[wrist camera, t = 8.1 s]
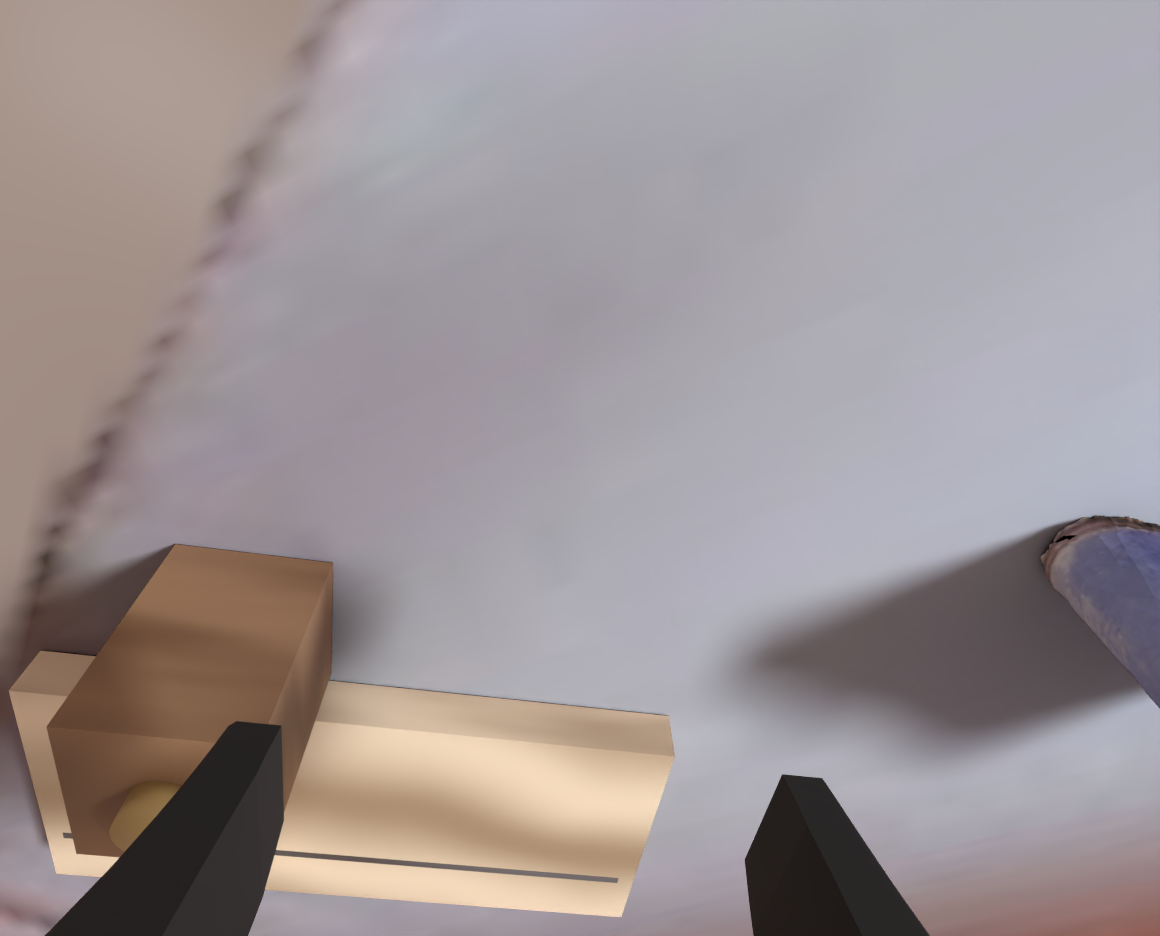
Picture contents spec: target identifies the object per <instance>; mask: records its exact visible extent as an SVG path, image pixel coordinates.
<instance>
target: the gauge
mask: <svg viewBox="0 0 1160 936" xmlns="http://www.w3.org/2000/svg"><path fill="white" fill-rule="evenodd" d="M332 604H333V563H329V562H321V561H313V560H304V559H296V558H287V557H279V556H270V555H262V554H254V553H245V552H237V551H228V550H220V549H212V548H203V547H195V546H186V545H178V544H175V545H174V547H173V548H172V550H171V551H170V552H169V554H168V555H167V557H166V558H165V559H164V561H163V562H162V564H161V565H160V567H159V568H158V569H157V571H156V572H155V574H154V575H153V576H152V578H151V579H150V581H149V582H148V584H147V585H146V586H145V588H144V589H143V591H142V592H141V593H140V595H139V596H138V598H137V599H136V601H135V602H134V603H133V605H132V606H131V608H130V609H129V610H128V612H127V613H126V615H125V616H124V618H123V619H122V620H121V622H120V623H119V625H118V626H117V627H116V629H115V630H114V632H113V633H112V635H111V636H110V637H109V639H108V640H107V642H106V643H105V644H104V646H103V647H102V649H101V650H100V652H99V653H98V654H97V656H96V657H95V659H94V660H93V661H92V663H91V664H90V666H89V667H88V669H87V670H86V671H85V673H84V674H83V676H82V677H81V678H80V680H79V681H78V683H77V684H76V686H75V687H74V688H73V690H72V691H71V693H70V694H69V695H68V697H67V698H66V700H65V701H64V703H63V704H62V705H61V707H60V708H59V710H58V711H57V712H56V714H55V715H54V717H53V718H52V719H51V721H50V722H49V724H48V725H47V727H46V728H47V732H48V736H49V740H50V744H51V749H52V753H53V757H54V761H55V766H56V770H57V774H58V778H59V782H60V787H61V791H62V795H63V799H64V804H65V808H66V812H67V816H68V820H69V825H70V829H71V833H72V837H73V842H74V846H75V850H76V854H83V855H96V856H108V857H120V856H121V855H122V854H123V853H124V852H125V851H126V850H127V849H128V847H129V846H130V845H131V844H132V843H133V842H134V841H135V840H136V838H137V837H138V836H139V835H140V834H141V833H142V832H143V830H144V829H145V828H146V827H147V826H148V825H149V824H150V823H151V821H152V820H153V819H154V818H155V817H156V816H157V815H158V814H159V812H160V811H161V810H162V809H163V808H164V806H165V805H166V804H167V803H168V802H169V800H170V799H171V798H172V797H173V796H174V794H175V793H176V792H177V791H178V790H179V788H180V787H181V786H182V785H183V784H184V782H185V781H186V780H187V779H188V777H189V776H190V775H191V774H192V773H193V771H194V770H195V769H196V768H197V766H198V765H199V764H200V762H201V761H202V760H203V759H204V757H205V756H206V755H207V753H208V752H209V751H210V750H211V748H212V747H213V746H214V744H215V743H216V742H217V740H218V739H219V738H220V736H221V735H222V734H223V732H224V731H225V730H226V728H227V727H228V726H229V725H231V724H232V723H234V722H236V721H241V722H251V723H261V724H272V725H282V763H283V801H284V811H285V808H286V805H287V802H288V799H289V796H290V794H291V791H292V788H293V785H294V782H295V779H296V776H297V773H298V770H299V767H300V764H301V761H302V758H303V755H304V752H305V749H306V746H307V743H308V741H309V738H310V735H311V732H312V729H313V726H314V723H315V720H316V717H317V714H318V711H319V708H320V705H321V702H322V699H323V696H324V693H325V690H326V687H327V685H328V682H329V679H330V676H331V662H332Z"/></svg>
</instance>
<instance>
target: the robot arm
mask: <svg viewBox="0 0 1160 936" xmlns="http://www.w3.org/2000/svg"><path fill="white" fill-rule="evenodd" d="M283 822H284V801H283V763H282V725H272V724H261V723H251V722H241V721H236V722H234V723H232V724H231V725H229V726H228V727H227V728H226V730H225V731H224V732H223V734H222V735H221V736H220V738H219V739H218V740H217V742H216V743H215V744H214V746H213V747H212V748H211V750H210V751H209V752H208V753H207V755H206V756H205V757H204V759H203V760H202V761H201V762H200V764H199V765H198V766H197V768H196V769H195V770H194V771H193V773H192V774H191V775H190V776H189V777H188V779H187V780H186V781H185V782H184V784H183V785H182V786H181V787H180V788H179V790H178V791H177V792H176V793H175V794H174V796H173V797H172V798H171V799H170V800H169V802H168V803H167V804H166V805H165V806H164V808H163V809H162V810H161V811H160V812H159V814H158V815H157V816H156V817H155V818H154V819H153V820H152V821H151V823H150V824H149V825H148V826H147V827H146V828H145V829H144V830H143V832H142V833H141V834H140V835H139V836H138V837H137V838H136V840H135V841H134V842H133V843H132V844H131V845H130V846H129V847H128V849H127V850H126V851H125V852H124V853H123V854H122V855H121V856H120V858H119V859H118V860H117V861H116V862H115V863H114V864H113V865H112V866H111V868H110V869H109V870H108V871H107V872H106V873H105V874H104V875H103V876H102V877H101V878H100V879H99V880H98V881H97V882H96V883H95V884H94V886H93V887H92V888H91V889H90V890H89V891H88V892H87V893H86V894H85V895H84V896H83V897H82V898H81V899H80V900H79V901H78V902H77V903H76V904H75V905H74V906H73V907H72V908H71V909H70V910H69V911H68V912H67V914H66V915H65V916H64V917H63V918H62V919H61V920H60V921H59V922H58V923H57V924H56V925H55V926H54V927H53V928H52V929H51V930H50V931H49V932H48V933H47V934H46V935H45V936H248V934H249V932H250V929H251V926H252V924H253V921H254V919H255V916H256V913H257V911H258V908H259V905H260V903H261V900H262V897H263V894H264V891H265V887H266V884H267V880H268V877H269V873H270V870H271V866H272V862H273V859H274V855H275V851H276V848H277V844H278V840H279V837H280V833H281V829H282V826H283ZM745 866H746V875H747V885H748V895H749V903H750V911H751V919H752V927H753V935H754V936H930V935H929V934H928V932H927V931H926V930H925V928H924V927H923V925H922V924H921V923H920V921H919V920H918V918H917V917H916V916H915V914H914V913H913V911H912V910H911V909H910V907H909V906H908V904H907V903H906V902H905V900H904V899H903V897H902V896H901V895H900V893H899V892H898V890H897V889H896V887H895V886H894V884H893V883H892V882H891V880H890V879H889V877H888V876H887V874H886V873H885V871H884V870H883V868H882V867H881V865H880V864H879V862H878V861H877V860H876V858H875V857H874V855H873V854H872V852H871V851H870V849H869V848H868V846H867V845H866V843H865V842H864V840H863V839H862V837H861V836H860V834H859V833H858V831H857V830H856V828H855V827H854V825H853V824H852V822H851V821H850V819H849V818H848V816H847V815H846V813H845V812H844V810H843V808H842V807H841V805H840V804H839V802H838V801H837V799H836V798H835V796H834V795H833V793H832V792H831V790H830V789H829V788H828V786H827V785H826V783H825V782H824V780H823V779H822V778H813V777H803V776H793V775H783V774H782V776H781V779H780V781H779V783H778V786H777V788H776V790H775V792H774V795H773V797H772V799H771V801H770V804H769V806H768V808H767V811H766V813H765V815H764V817H763V820H762V822H761V824H760V826H759V829H758V831H757V833H756V836H755V838H754V840H753V842H752V845H751V847H750V849H749V851H748V854H747V856H746V858H745Z"/></svg>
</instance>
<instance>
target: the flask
mask: <svg viewBox="0 0 1160 936" xmlns="http://www.w3.org/2000/svg"><path fill="white" fill-rule="evenodd" d="M1064 535H1065V536H1068V535H1077V536H1075V537H1073V538H1072V539H1070V540H1068V539H1066V540H1063V541H1060V542H1058V543H1056V541H1057V540H1058V539H1059V538H1061V537H1063V536H1064ZM1054 541H1055V542H1054V543H1052V544H1050V546H1049V550H1047V551H1046V553H1045V554H1043V555H1042V556H1040V557H1041V562H1042V564H1043V566H1044V569H1045V573H1046V576H1047V578H1048V581H1049V582H1050V583H1051V584H1052V586H1053V588H1054V589H1055V590H1057V591H1058V592H1059V593H1060V594H1061V595H1062V596H1064V597H1065V598H1066V599H1067V600H1068V601H1069V603H1070V605H1071V607H1072V608H1073V610H1074V611H1075V612H1076V613H1077V614H1078V615H1079V616H1080V617H1081V619H1082V620H1083V621H1084V622H1085V623H1086V624H1087V625H1088V626H1089V627H1090V628H1091V629H1092V631H1093V632H1094V633H1095V634H1096V635H1097V636H1098V637H1099V639H1100V640H1101V641H1102V642H1103V643H1104V644H1105V645H1106V647H1107V648H1108V649H1109V650H1110V651H1111V653H1112V654H1113V655H1114V656H1115V657H1116V658H1117V659H1118V660H1119V661H1120V662H1121V663H1122V664H1123V666H1124V667H1125V668H1126V669H1127V670H1128V671H1129V672H1130V673H1131V674H1132V675H1133V676H1134V677H1135V679H1136V680H1137V681H1138V683H1139V684H1140V685H1141V687H1142V688H1143V689H1144V690H1145V692H1146V693H1147V694H1148V695H1149V697H1150V698H1151V699H1152V700H1153V701H1154V702H1155V704H1156V705H1157V706H1158V707H1159V708H1160V526H1158V525H1157V524H1150V523H1144V522H1143V521H1139V520H1138V519H1134V518H1129V516H1128V517H1127V518H1123V517H1118V518H1114V517H1104V516H1102V517H1101V516H1095V517H1094V518H1092V519H1090V518H1085V517H1082V518H1081V519H1080V520H1078V521H1077V522H1075V523H1073V524H1070V525H1068V526H1066V527H1065V528H1064V529H1062V530H1061V531H1059V532H1058V534H1057V536H1056V537H1055V539H1054Z"/></svg>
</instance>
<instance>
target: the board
mask: <svg viewBox="0 0 1160 936" xmlns="http://www.w3.org/2000/svg"><path fill="white" fill-rule="evenodd" d="M95 657H96V656H87V655H78V654H68V653H58V652H49V651H40V652H39V653H38V654H37V656H36V657H35V658H34V659H33V661H32V662H31V663H30V664H29V666H28V667H27V668H26V669H25V671H24V672H23V673H22V675H21V676H20V677H19V678H18V680H17V681H16V682H15V683H14V685H13V686H12V687H11V688H10V690H9V694H10V698H11V702H12V706H13V709H14V713H15V717H16V721H17V725H18V729H19V732H20V736H21V740H22V744H23V748H24V751H25V755H26V759H27V763H28V767H29V770H30V774H31V778H32V782H33V786H34V790H35V793H36V797H37V801H38V805H39V809H40V812H41V816H42V820H43V824H44V828H45V832H46V835H47V839H48V843H49V847H50V851H51V854H52V858H53V862H54V866H55V870H56V874H68V875H81V876H94V877H102V876H103V875H104V874H105V873H106V872H107V871H108V870H109V869H110V868H111V866H112V865H113V864H114V863H115V862H116V861H117V860H118V859H119V858H120V857H108V856H96V855H83V854H76V850H75V846H74V842H73V837H72V833H71V829H70V825H69V820H68V816H67V812H66V808H65V804H64V799H63V795H62V791H61V787H60V782H59V778H58V774H57V770H56V766H55V761H54V757H53V753H52V749H51V744H50V740H49V736H48V732H47V728H46V727H47V725H48V724H49V722H50V721H51V719H52V718H53V717H54V715H55V714H56V712H57V711H58V710H59V708H60V707H61V705H62V704H63V703H64V701H65V700H66V698H67V697H68V695H69V694H70V693H71V691H72V690H73V688H74V687H75V686H76V684H77V683H78V681H79V680H80V678H81V677H82V676H83V674H84V673H85V671H86V670H87V669H88V667H89V666H90V664H91V663H92V661H93V660H94V659H95ZM674 757H675V755H674V748H673V742H672V735H671V728H670V722H669V716H664V715H654V714H645V713H635V712H626V711H616V710H606V709H597V708H587V707H578V706H568V705H558V704H549V703H539V702H529V701H520V700H510V699H501V698H491V697H481V696H472V695H462V694H453V693H443V692H433V691H424V690H414V689H404V688H395V687H385V686H376V685H366V684H356V683H347V682H337V681H329V682H328V685H327V687H326V690H325V693H324V696H323V699H322V702H321V705H320V708H319V711H318V714H317V717H316V720H315V723H314V726H313V729H312V732H311V735H310V738H309V741H308V743H307V746H306V749H305V752H304V755H303V758H302V761H301V764H300V767H299V770H298V773H297V776H296V779H295V782H294V785H293V788H292V791H291V794H290V796H289V799H288V802H287V805H286V808H285V811H284V822H283V826H282V829H281V833H280V837H279V840H278V844H277V848H276V851H275V855H274V859H273V862H272V866H271V870H270V873H269V877H268V880H267V884H266V887H265V890H276V891H289V892H302V893H315V894H328V895H341V896H354V897H367V898H380V899H393V900H406V901H419V902H431V903H444V904H457V905H470V906H483V907H496V908H509V909H522V910H535V911H548V912H561V913H574V914H587V915H600V916H613V917H621V916H622V913H623V910H624V907H625V904H626V901H627V898H628V895H629V892H630V889H631V886H632V883H633V880H634V877H635V874H636V871H637V868H638V865H639V862H640V859H641V856H642V853H643V850H644V847H645V844H646V841H647V838H648V835H649V832H650V829H651V826H652V823H653V820H654V817H655V814H656V811H657V808H658V805H659V802H660V799H661V796H662V793H663V790H664V787H665V784H666V781H667V778H668V775H669V772H670V769H671V766H672V763H673V760H674Z"/></svg>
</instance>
